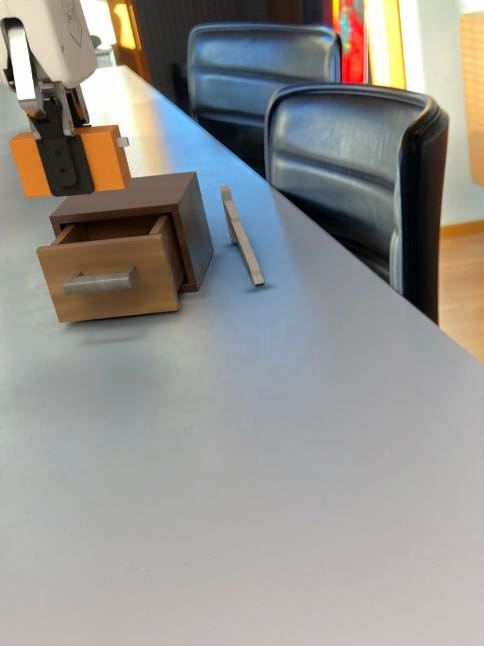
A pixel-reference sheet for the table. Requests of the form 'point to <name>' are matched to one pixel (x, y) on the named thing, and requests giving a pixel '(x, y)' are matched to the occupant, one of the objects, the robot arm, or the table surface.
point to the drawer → (114, 267)
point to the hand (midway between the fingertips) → (79, 186)
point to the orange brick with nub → (100, 151)
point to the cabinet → (146, 199)
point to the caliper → (240, 235)
